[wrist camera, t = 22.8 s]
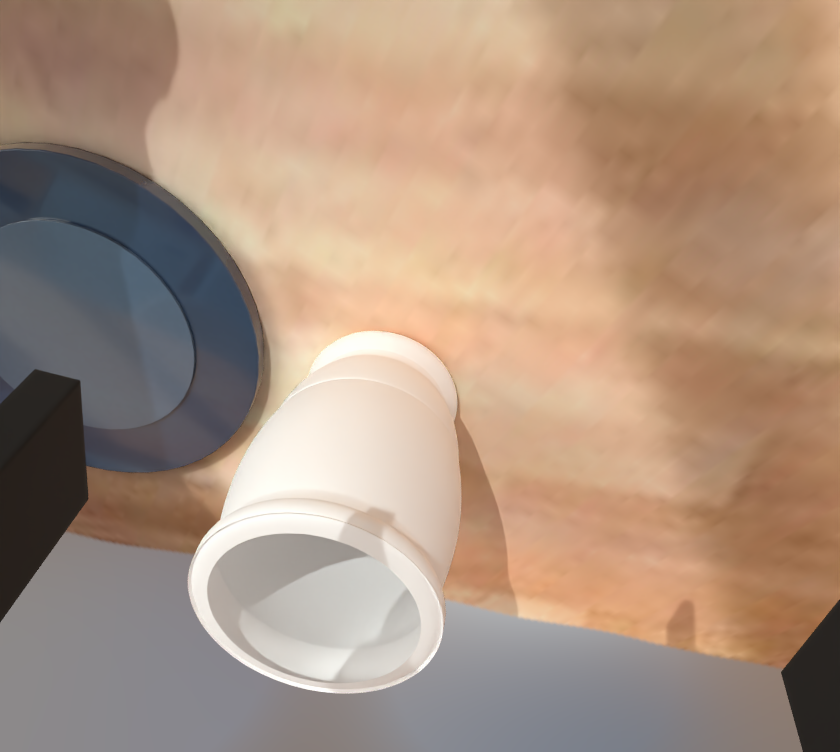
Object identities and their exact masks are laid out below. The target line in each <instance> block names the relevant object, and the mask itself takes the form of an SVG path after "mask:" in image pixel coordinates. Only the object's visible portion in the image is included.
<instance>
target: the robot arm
mask: <svg viewBox="0 0 840 752" xmlns="http://www.w3.org/2000/svg"><path fill="white" fill-rule="evenodd" d="M87 500H88V487H87V472H86V457H85V442H84V428H83V413H82V398H81V383H80V380H77V379H73V378H69V377H65V376H61V375H57V374H53V373H49V372H45V371H41V370H37V369H34V370H33V371H32V372H31V373H30V374H29V375H28V376H27V377H26V378H25V379H24V381H23V382H22V383H21V384H20V385H19V386H18V387H17V388H16V389H15V390H14V391H13V392H12V393H11V394H10V395H9V396H8V397H7V398H6V399H5V400H4V401H3V402H2V403H1V404H0V622H1V620H2V619H3V618H4V616H5V615H6V614H7V612H8V611H9V609H10V608H11V607H12V605H13V604H14V602H15V601H16V599H17V598H18V597H19V595H20V594H21V592H22V591H23V589H24V588H25V587H26V586H27V584H28V583H29V581H30V580H31V579H32V577H33V576H34V574H35V573H36V572H37V570H38V569H39V567H40V566H41V564H42V563H43V562H44V560H45V559H46V557H47V556H48V555H49V553H50V552H51V550H52V549H53V548H54V546H55V545H56V544H57V542H58V541H59V539H60V538H61V537H62V535H63V534H64V532H65V531H66V530H67V528H68V527H69V525H70V524H71V523H72V521H73V520H74V518H75V517H76V516H77V514H78V513H79V511H80V510H81V509H82V507H83V506H84V504H85V503H86V502H87ZM781 674H782V677H783V681H784V685H785V688H786V692H787V695H788V699H789V703H790V706H791V710H792V714H793V717H794V721H795V724H796V728H797V732H798V735H799V739H800V742H801V746H802V750H803V752H840V600H839V601H838V602H837V603H836V605H835V606H834V607H833V608H832V610H831V611H830V612H829V613H828V615H827V616H826V617H825V618H824V619H823V621H822V622H821V623H820V624H819V626H818V627H817V628H816V629H815V631H814V632H813V633H812V634H811V636H810V637H809V638H808V639H807V641H806V642H805V643H804V644H803V646H802V647H801V648H800V649H799V651H798V652H797V653H796V654H795V656H794V657H793V658H792V659H791V660H790V662H789V663H788V664H787V665H786V667H785V668H784V669H783V670H782V672H781Z"/></svg>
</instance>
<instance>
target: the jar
mask: <svg viewBox="0 0 840 752" xmlns="http://www.w3.org/2000/svg"><path fill="white" fill-rule="evenodd" d="M456 412H457V393H456V388H455V385H454V382H453V379H452V377H451V375H450V373H449V371H448V370H447V368H446V367H445V365H444V364H443V363H442V362H441V360H440V359H439V358H438V357H437V356H436V355H435V354H434V353H433V352H431V351H430V350H429V349H428V348H426V347H425V346H423V345H422V344H420V343H418V342H416V341H414V340H412V339H410V338H408V337H405V336H403V335H399V334H395V333H391V332H385V331H364V332H357V333H353V334H350V335H347V336H344V337H342V338H340V339H338V340H336V341H334V342H333V343H331V344H330V345H328V346H327V347H326V348H325V349H324V350H323V351H322V352H321V353H320V354H319V355H318V357H317V358H316V360H315V361H314V363H313V365H312V367H311V369H310V372H309V375H308V377H306V378H305V379H304V380H303V381H302V382H301V383H300V384H299V385H298V386H297V387H296V388H295V389H294V390H293V391H292V392H291V393H290V394H289V395H288V397H287V398H286V399H285V400H284V402H283V403H282V405H281V406H280V407H279V409H278V410H277V411H276V412H275V413H274V414H273V415H272V416H271V417H270V418H269V420H268V421H267V422H266V423H265V424H264V426H263V427H262V428H261V430H260V431H259V432H258V434H257V435H256V437H255V438H254V440H253V441H252V443H251V444H250V446H249V448H248V449H247V451H246V453H245V455H244V456H243V458H242V460H241V462H240V464H239V466H238V469H237V471H236V473H235V475H234V478H233V480H232V483H231V486H230V488H229V491H228V494H227V497H226V500H225V504H224V507H223V511H222V515H221V519H220V521H219V522H217V523H216V524H215V525H214V526H213V527H212V528H211V529H210V530H209V531H208V532H207V534H206V535H205V536H204V538H203V539H202V541H201V542H200V544H199V546H198V548H197V550H196V553H195V555H194V557H193V560H192V562H191V565H190V568H189V573H188V591H189V596H190V600H191V603H192V606H193V609H194V611H195V613H196V615H197V617H198V619H199V621H200V622H201V624H202V625H203V627H204V628H205V629H206V631H207V632H208V633H209V635H210V636H211V637H212V638H213V639H214V640H215V641H216V642H217V643H218V644H219V645H220V646H221V647H222V648H223V649H224V650H226V651H227V652H228V653H229V654H231V655H232V656H233V657H235V658H236V659H237V660H239V661H240V662H242V663H243V664H245V665H247V666H248V667H250V668H252V669H254V670H255V671H257V672H259V673H262V674H263V675H266V676H268V677H270V678H272V679H275V680H277V681H280V682H283V683H286V684H289V685H292V686H296V687H300V688H304V689H309V690H314V691H320V692H329V693H362V692H370V691H375V690H380V689H384V688H387V687H391V686H393V685H396V684H399V683H401V682H403V681H405V680H407V679H409V678H411V677H412V676H413V675H415V674H416V673H418V672H419V671H421V670H422V669H423V668H424V667H425V666H426V665H427V664H428V663H429V662H430V660H431V659H432V658H433V656H434V655H435V653H436V651H437V650H438V647H439V645H440V642H441V639H442V634H443V628H444V624H445V616H446V609H445V599H444V594H443V590H442V588H443V585H444V583H445V580H446V578H447V575H448V572H449V569H450V566H451V562H452V559H453V555H454V552H455V547H456V543H457V538H458V533H459V526H460V518H461V500H462V494H461V475H460V466H459V450H458V440H457V434H456V429H455V425H454V420H455V417H456Z"/></svg>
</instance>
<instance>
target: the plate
mask: <svg viewBox="0 0 840 752" xmlns="http://www.w3.org/2000/svg"><path fill="white" fill-rule="evenodd" d="M263 368H264V343H263V336H262V328H261V324H260V320H259V316H258V312H257V309H256V305H255V303H254V300H253V298H252V295H251V293H250V291H249V288H248V286H247V283H246V281H245V280H244V278H243V276H242V274H241V273H240V271H239V269H238V267H237V265H236V264H235V262H234V260H233V259H232V258H231V256H230V255H229V253H228V252H227V251H226V249H225V248H224V246H223V245H222V244H221V242H220V241H219V240H218V238H217V237H216V236H215V235H214V234H213V233H212V232H211V231H210V230H209V228H208V227H207V226H206V225H205V224H204V223H203V222H202V221H201V220H200V219H199V218H198V217H197V216H196V215H195V214H194V213H193V212H192V211H191V210H190V209H188V208H187V207H186V206H185V205H184V204H183V203H182V202H181V201H180V200H178V199H177V198H176V197H174V196H173V195H171V194H170V193H169V192H167V191H166V190H165V189H163V188H162V187H160V186H159V185H158V184H156V183H155V182H153V181H151V180H150V179H148V178H146V177H144V176H143V175H141V174H139V173H138V172H136V171H134V170H132V169H131V168H128V167H126V166H124V165H122V164H119V163H117V162H115V161H113V160H110V159H108V158H106V157H103V156H100V155H97V154H93V153H90V152H87V151H84V150H81V149H77V148H72V147H66V146H61V145H55V144H46V143H27V142H26V143H15V144H4V145H0V404H1V403H2V402H3V401H4V400H5V399H6V398H7V397H8V396H9V395H10V394H11V393H12V392H13V391H14V390H15V389H16V388H17V387H18V386H19V385H20V384H21V383H22V382H23V381H24V379H25V378H26V377H27V376H28V375H29V374H30V373H31V372H32V371H33V370H34V369H37V370H41V371H45V372H49V373H53V374H57V375H61V376H65V377H69V378H73V379H77V380H80V383H81V398H82V413H83V428H84V442H85V457H86V466H89V467H94V468H99V469H104V470H109V471H119V472H128V473H146V472H157V471H165V470H170V469H174V468H178V467H182V466H186V465H188V464H191V463H193V462H196V461H198V460H201V459H203V458H204V457H206V456H208V455H209V454H211V453H213V452H215V451H216V450H217V449H219V448H220V447H221V446H222V445H224V444H225V443H226V442H227V441H228V440H230V438H231V437H232V436H233V435H234V434H235V432H236V431H237V430H238V429H239V428H240V427H241V425H242V423H243V422H244V420H245V418H246V416H247V415H248V413H249V411H250V409H251V408H252V406H253V404H254V402H255V399H256V396H257V394H258V391H259V388H260V385H261V379H262V374H263Z"/></svg>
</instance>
